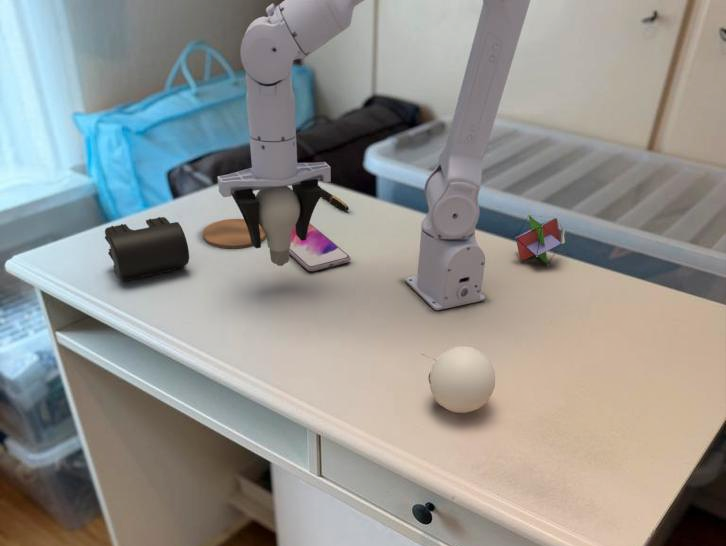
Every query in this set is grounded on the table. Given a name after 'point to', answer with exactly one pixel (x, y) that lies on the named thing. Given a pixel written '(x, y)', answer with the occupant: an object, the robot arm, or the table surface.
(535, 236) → the geometric puzzle
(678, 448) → the table surface
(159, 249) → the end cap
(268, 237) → the lightbulb
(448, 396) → the white ball
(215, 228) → the copper coaster
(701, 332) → the table surface
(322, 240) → the smartphone
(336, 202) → the fountain pen
